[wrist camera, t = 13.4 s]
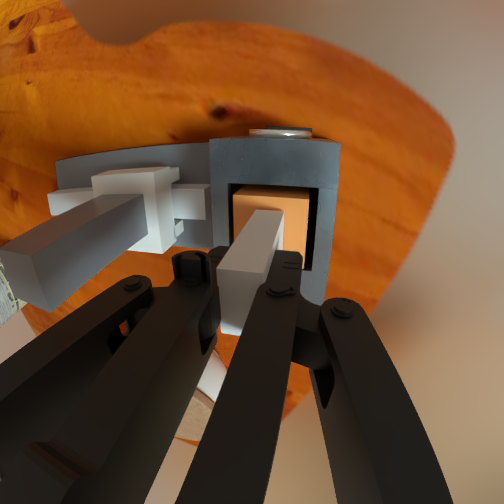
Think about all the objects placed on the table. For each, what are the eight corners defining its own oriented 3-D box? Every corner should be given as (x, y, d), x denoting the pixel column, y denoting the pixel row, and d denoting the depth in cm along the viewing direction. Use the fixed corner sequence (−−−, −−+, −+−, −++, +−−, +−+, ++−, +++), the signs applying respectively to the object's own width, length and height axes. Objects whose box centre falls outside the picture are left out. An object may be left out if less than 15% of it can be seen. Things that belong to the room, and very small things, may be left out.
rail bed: (62, 159, 24) (43, 165, 22) (216, 142, 21) (202, 144, 18) (73, 232, 28) (57, 242, 26) (219, 244, 25) (208, 259, 22)
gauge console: (240, 126, 20) (208, 126, 14) (331, 130, 19) (341, 130, 13) (241, 251, 25) (217, 294, 18) (321, 258, 23) (322, 306, 17)
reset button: (249, 181, 18) (233, 195, 15) (309, 184, 17) (309, 199, 14) (249, 236, 20) (234, 261, 16) (305, 241, 19) (303, 268, 16)
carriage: (120, 167, 22) (-16, 222, 9) (178, 163, 20) (32, 224, 8) (128, 230, 24) (16, 314, 12) (184, 234, 23) (74, 342, 11)
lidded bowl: (133, 336, 34) (89, 394, 24) (191, 299, 28) (140, 376, 19) (196, 394, 36) (169, 454, 27) (263, 373, 31) (243, 452, 21)
